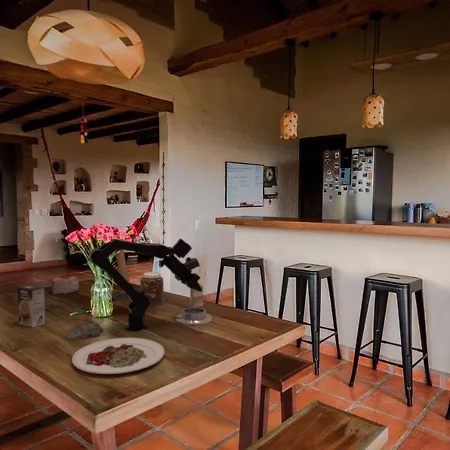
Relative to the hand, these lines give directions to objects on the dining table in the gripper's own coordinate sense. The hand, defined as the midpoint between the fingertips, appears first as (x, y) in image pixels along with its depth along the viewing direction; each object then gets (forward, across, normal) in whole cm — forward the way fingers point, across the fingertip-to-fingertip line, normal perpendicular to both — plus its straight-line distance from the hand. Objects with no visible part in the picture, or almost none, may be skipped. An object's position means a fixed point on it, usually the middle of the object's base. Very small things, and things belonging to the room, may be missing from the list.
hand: (199, 289), depth 178 cm
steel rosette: (+8, +1, +11) cm, 14 cm away
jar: (+1, +35, +18) cm, 40 cm away
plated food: (-18, -29, +38) cm, 51 cm away
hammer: (-6, +50, +26) cm, 57 cm away
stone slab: (-24, +3, +44) cm, 50 cm away
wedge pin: (+4, 0, +6) cm, 7 cm away
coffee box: (-37, +22, +58) cm, 72 cm away
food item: (-26, +76, +46) cm, 93 cm away
